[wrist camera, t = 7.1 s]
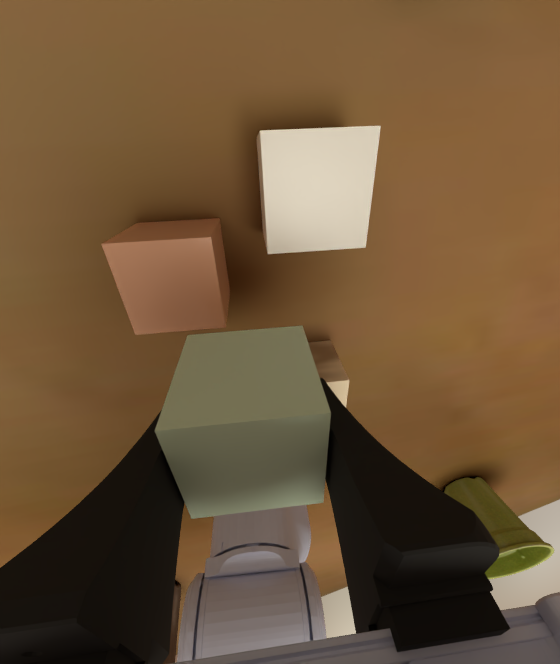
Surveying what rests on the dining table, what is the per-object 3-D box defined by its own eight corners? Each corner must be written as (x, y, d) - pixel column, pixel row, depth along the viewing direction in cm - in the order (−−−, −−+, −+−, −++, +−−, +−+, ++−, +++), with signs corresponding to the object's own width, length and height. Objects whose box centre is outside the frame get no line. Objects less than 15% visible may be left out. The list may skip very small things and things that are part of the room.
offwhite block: (344, 134, 16) (380, 125, 12) (338, 227, 18) (365, 247, 14) (256, 138, 15) (260, 130, 11) (262, 231, 18) (267, 254, 14)
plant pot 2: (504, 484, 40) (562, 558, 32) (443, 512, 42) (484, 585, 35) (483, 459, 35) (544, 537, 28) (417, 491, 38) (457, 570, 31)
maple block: (330, 339, 23) (349, 380, 19) (327, 384, 26) (343, 428, 22) (271, 345, 23) (276, 387, 19) (274, 389, 26) (279, 435, 21)
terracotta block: (219, 218, 17) (210, 237, 13) (230, 291, 20) (225, 327, 16) (137, 222, 17) (101, 243, 13) (159, 296, 20) (135, 334, 15)
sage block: (302, 325, 12) (331, 413, 8) (301, 405, 15) (323, 502, 11) (187, 335, 12) (154, 430, 8) (208, 414, 15) (191, 518, 10)
